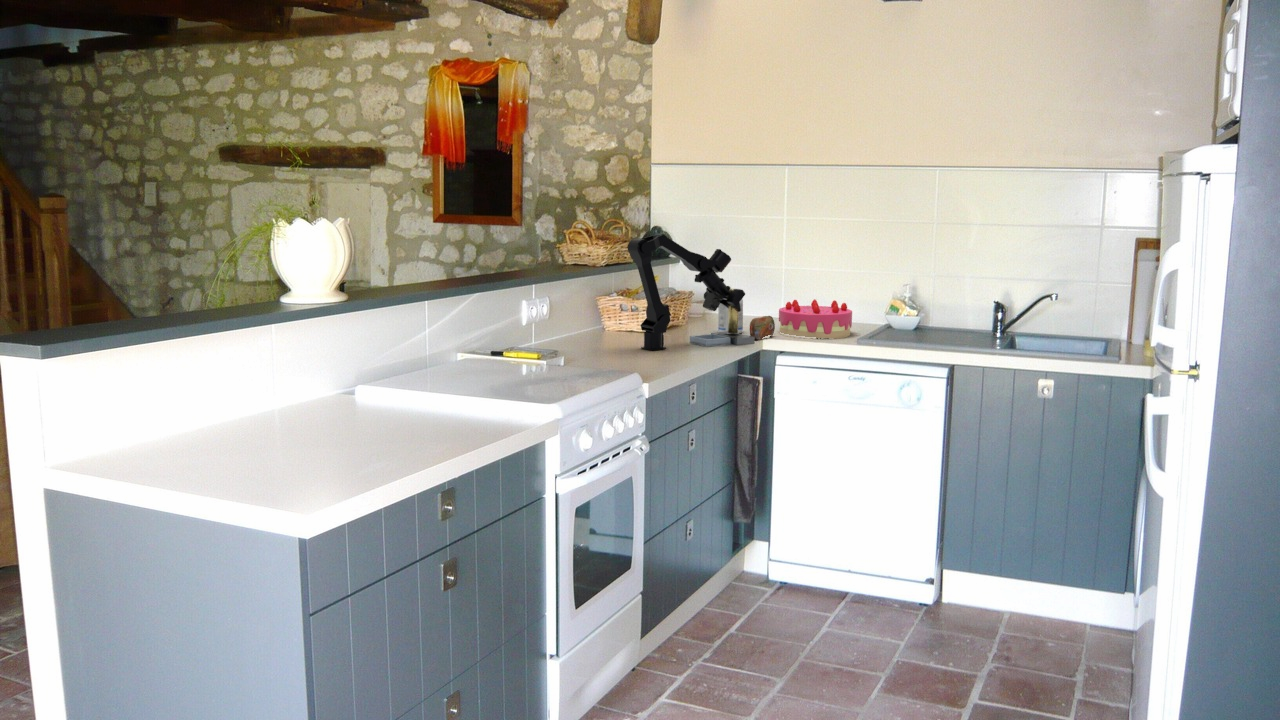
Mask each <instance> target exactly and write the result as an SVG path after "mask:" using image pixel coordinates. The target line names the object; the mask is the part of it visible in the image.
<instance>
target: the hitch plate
mask: <svg viewBox="0 0 1280 720" xmlns="http://www.w3.org/2000/svg"><path fill="white" fill-rule="evenodd" d="M710 334H716V335H721V336H725V337H730V338H731V340H730V345H734V346H742V345H753V344H755V342H756V341H755V337H753V336H750V335H748V334H743V333H728V331H726V332H719V331H716V332H715V331H714V332H710Z"/></svg>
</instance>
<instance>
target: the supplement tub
mask: <svg viewBox="0 0 1280 720" xmlns="http://www.w3.org/2000/svg"><path fill="white" fill-rule="evenodd" d="M743 298H744V297H743ZM743 298H742V299H741V301H740V308H741V311H740V312H738V333H739V334H743V331H744V321H743V320H744V299H743ZM717 309H718V310H717V312H718V313H717V315H718V316H717V317H718V318H717V319H718V322H717V323H718V325H717V326H718V327H717V329H718V331H717V332H726V331H728V316H729V309H728V308H727V307H725V306H724V305H722V304H721V303H720V305H719V307H718V308H717Z"/></svg>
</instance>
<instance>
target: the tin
mask: <svg viewBox="0 0 1280 720" xmlns="http://www.w3.org/2000/svg"><path fill="white" fill-rule="evenodd" d="M775 327H776V323H775V319H774V317H772V315H763V316H758V317H754V318H752V319H751V320H750V323H749V336H753V337H755V340H756V341H762V338H763V337H765V336H768V335H772V336H774V333H775Z"/></svg>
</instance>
